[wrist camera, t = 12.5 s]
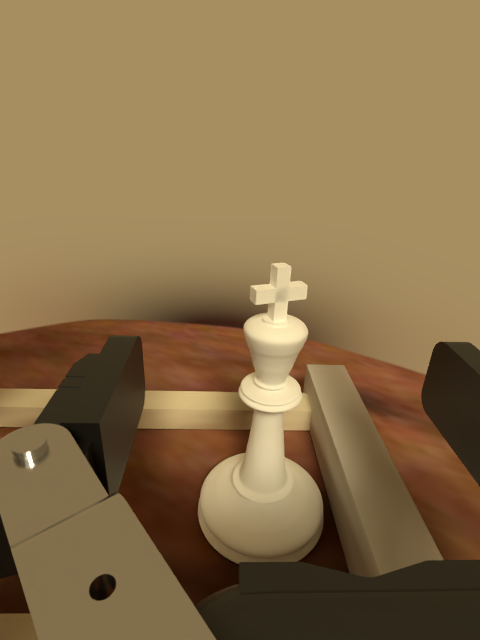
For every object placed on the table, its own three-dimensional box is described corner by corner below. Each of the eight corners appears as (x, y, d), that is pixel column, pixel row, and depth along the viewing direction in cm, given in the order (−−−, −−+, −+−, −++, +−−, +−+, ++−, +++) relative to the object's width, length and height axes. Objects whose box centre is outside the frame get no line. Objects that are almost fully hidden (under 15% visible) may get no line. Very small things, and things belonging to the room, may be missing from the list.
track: (-628, 763, 9) (-741, 707, 8) (-128, 396, 21) (-146, 356, 20) (475, 737, 10) (507, 684, 9) (337, 403, 22) (343, 365, 21)
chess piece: (183, 478, 17) (177, 248, 13) (286, 451, 19) (310, 241, 14) (222, 592, 13) (232, 306, 8) (349, 542, 14) (409, 285, 10)
